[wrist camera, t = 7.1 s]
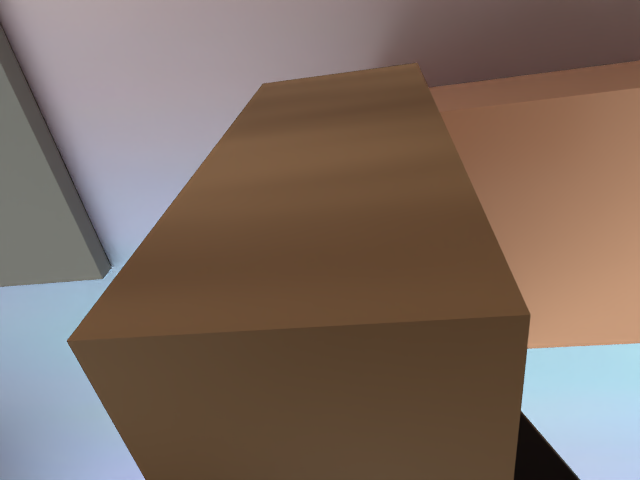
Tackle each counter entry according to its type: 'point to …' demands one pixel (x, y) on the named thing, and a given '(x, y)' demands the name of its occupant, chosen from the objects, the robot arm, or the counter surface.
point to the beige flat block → (560, 193)
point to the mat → (38, 195)
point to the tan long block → (318, 302)
